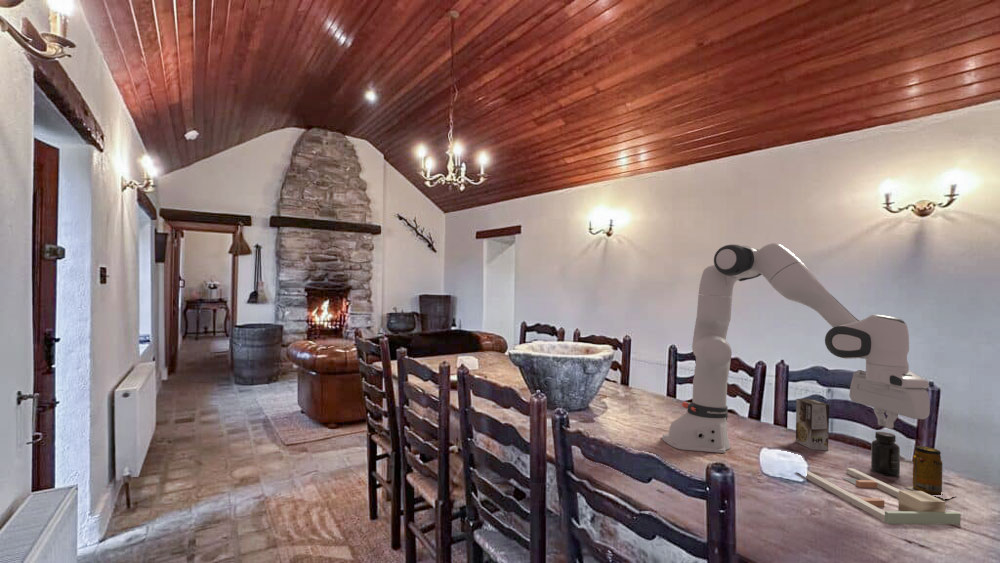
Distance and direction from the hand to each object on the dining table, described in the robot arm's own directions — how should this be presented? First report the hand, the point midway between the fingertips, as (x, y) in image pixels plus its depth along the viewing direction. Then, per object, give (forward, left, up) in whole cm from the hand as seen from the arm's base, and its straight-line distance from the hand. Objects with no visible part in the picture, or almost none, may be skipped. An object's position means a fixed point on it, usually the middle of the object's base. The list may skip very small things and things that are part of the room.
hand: (885, 426), depth 123 cm
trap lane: (-3, +2, -19) cm, 19 cm away
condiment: (+18, +4, -19) cm, 27 cm away
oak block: (+1, -9, -19) cm, 21 cm away
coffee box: (+13, +42, -19) cm, 48 cm away
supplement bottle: (+18, +18, -19) cm, 32 cm away
